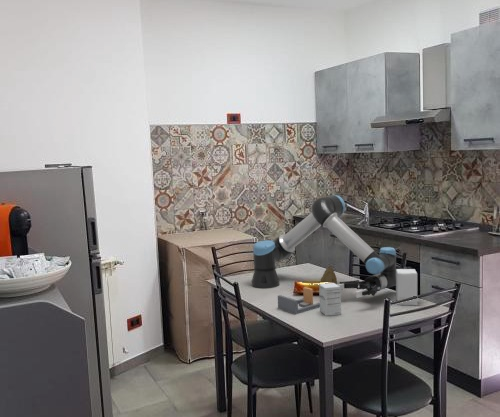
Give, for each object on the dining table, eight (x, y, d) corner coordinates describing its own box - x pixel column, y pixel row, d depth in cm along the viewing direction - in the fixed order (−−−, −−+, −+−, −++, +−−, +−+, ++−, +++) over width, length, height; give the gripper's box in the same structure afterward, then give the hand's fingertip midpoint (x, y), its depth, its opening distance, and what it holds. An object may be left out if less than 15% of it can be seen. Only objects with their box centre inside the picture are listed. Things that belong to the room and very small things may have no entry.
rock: (343, 283, 269) (339, 276, 279) (333, 271, 267) (329, 264, 277) (326, 296, 270) (323, 288, 280) (316, 284, 268) (313, 277, 278)
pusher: (298, 305, 242) (297, 288, 241) (305, 303, 244) (305, 287, 243) (305, 308, 238) (305, 291, 237) (313, 305, 240) (312, 289, 239)
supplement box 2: (417, 305, 235) (417, 273, 233) (397, 305, 236) (397, 273, 235) (415, 299, 243) (415, 268, 242) (395, 299, 245) (395, 268, 244)
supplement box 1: (319, 311, 232) (318, 283, 231) (334, 309, 234) (334, 282, 233) (325, 316, 225) (325, 287, 224) (341, 314, 227) (340, 286, 225)
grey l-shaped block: (278, 308, 239) (277, 295, 238) (308, 299, 250) (308, 287, 250) (295, 314, 229) (295, 301, 228) (326, 305, 241) (326, 292, 240)
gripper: (397, 295, 238) (366, 305, 225) (355, 286, 257) (325, 294, 245) (396, 280, 237) (366, 288, 224) (355, 271, 257) (324, 279, 244)
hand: (344, 291), depth 234 cm, fingers open, 13 cm apart
